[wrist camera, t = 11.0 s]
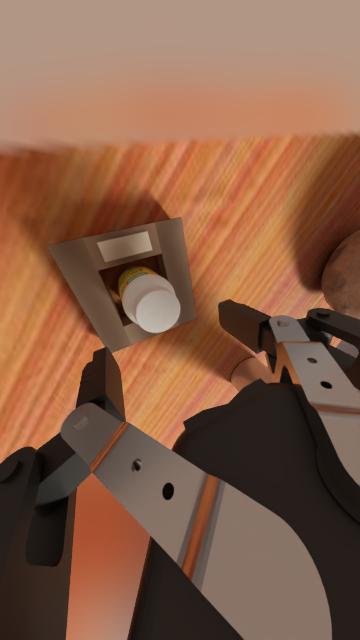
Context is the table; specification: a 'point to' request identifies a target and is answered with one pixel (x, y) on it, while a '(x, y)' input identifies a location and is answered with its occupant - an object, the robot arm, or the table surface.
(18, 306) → the table surface
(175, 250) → the socket holder
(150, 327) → the supplement bottle
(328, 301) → the ceramic bowl
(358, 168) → the table surface
